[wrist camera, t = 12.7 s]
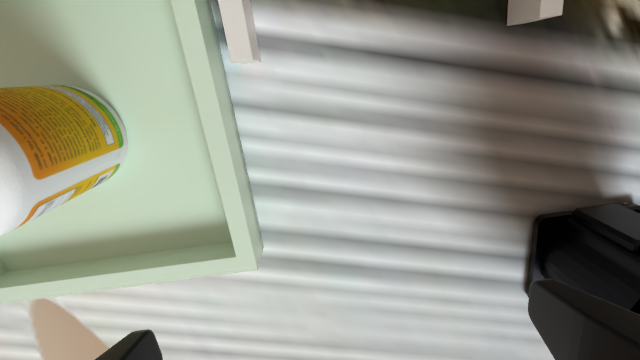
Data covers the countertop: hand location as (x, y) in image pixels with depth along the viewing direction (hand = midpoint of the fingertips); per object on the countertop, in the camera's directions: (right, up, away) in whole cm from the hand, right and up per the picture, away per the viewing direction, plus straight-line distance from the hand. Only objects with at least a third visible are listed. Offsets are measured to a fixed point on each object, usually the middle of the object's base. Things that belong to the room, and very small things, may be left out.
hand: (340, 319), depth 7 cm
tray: (-14, +6, +10) cm, 18 cm away
